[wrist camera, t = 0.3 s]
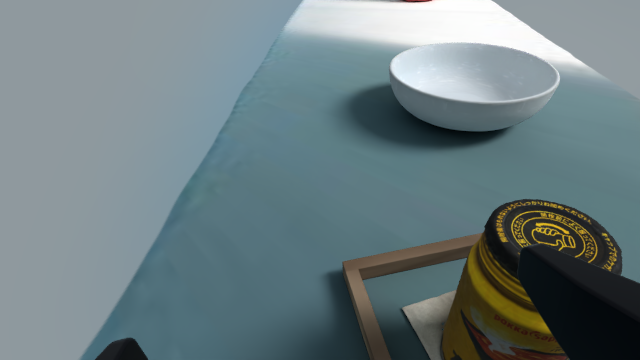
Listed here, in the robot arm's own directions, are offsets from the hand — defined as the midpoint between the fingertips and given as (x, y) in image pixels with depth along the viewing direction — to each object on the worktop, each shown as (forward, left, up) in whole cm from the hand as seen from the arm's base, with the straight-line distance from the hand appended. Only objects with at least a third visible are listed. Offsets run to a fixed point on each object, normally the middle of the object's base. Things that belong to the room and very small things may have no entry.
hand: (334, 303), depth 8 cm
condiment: (+5, -11, -17) cm, 21 cm away
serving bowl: (+36, -27, -17) cm, 48 cm away
